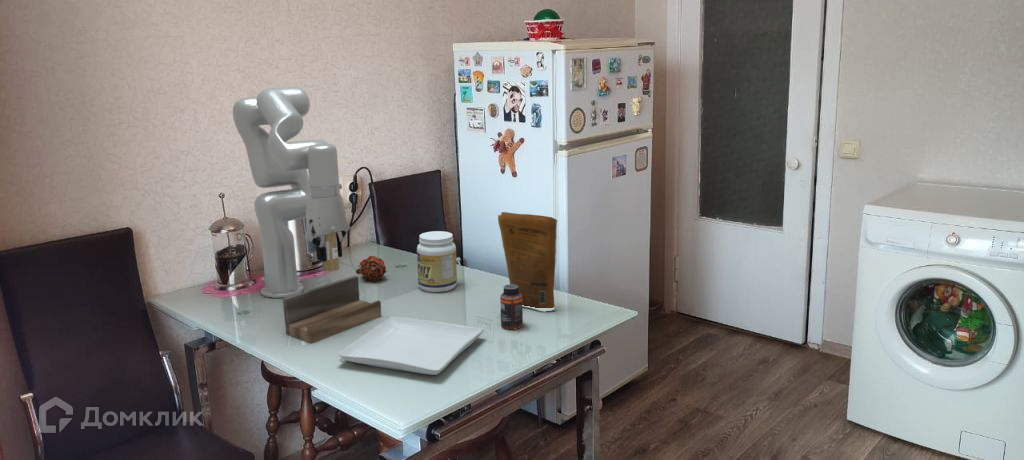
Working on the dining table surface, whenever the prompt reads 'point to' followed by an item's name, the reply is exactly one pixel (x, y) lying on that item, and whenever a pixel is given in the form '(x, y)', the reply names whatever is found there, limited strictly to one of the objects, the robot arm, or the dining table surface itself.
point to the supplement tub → (436, 261)
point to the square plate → (411, 345)
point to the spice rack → (327, 310)
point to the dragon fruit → (372, 268)
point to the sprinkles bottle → (331, 252)
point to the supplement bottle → (511, 307)
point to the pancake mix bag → (530, 256)
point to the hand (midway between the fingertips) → (329, 257)
